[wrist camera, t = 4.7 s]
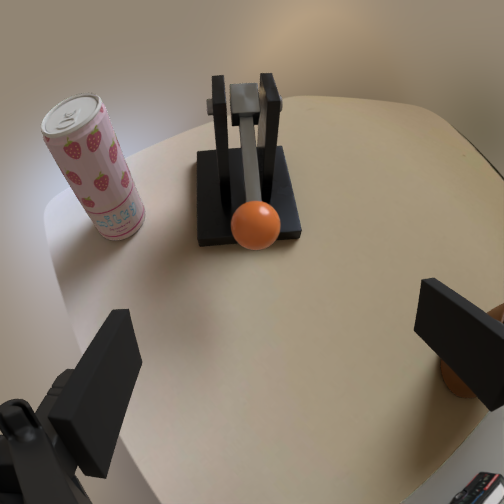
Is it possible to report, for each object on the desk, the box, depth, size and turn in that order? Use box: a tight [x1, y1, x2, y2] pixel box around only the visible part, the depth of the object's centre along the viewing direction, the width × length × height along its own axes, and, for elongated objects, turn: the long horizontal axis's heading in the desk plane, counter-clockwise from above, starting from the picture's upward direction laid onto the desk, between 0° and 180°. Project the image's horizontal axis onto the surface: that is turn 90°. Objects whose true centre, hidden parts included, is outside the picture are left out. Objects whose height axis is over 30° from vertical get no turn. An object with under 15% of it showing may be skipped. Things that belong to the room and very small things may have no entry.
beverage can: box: [41, 93, 145, 240], centre depth 26 cm, size 6×6×15 cm
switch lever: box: [230, 83, 280, 250], centre depth 24 cm, size 13×4×4 cm, turn 6°
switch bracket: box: [197, 73, 302, 247], centre depth 28 cm, size 12×10×14 cm
